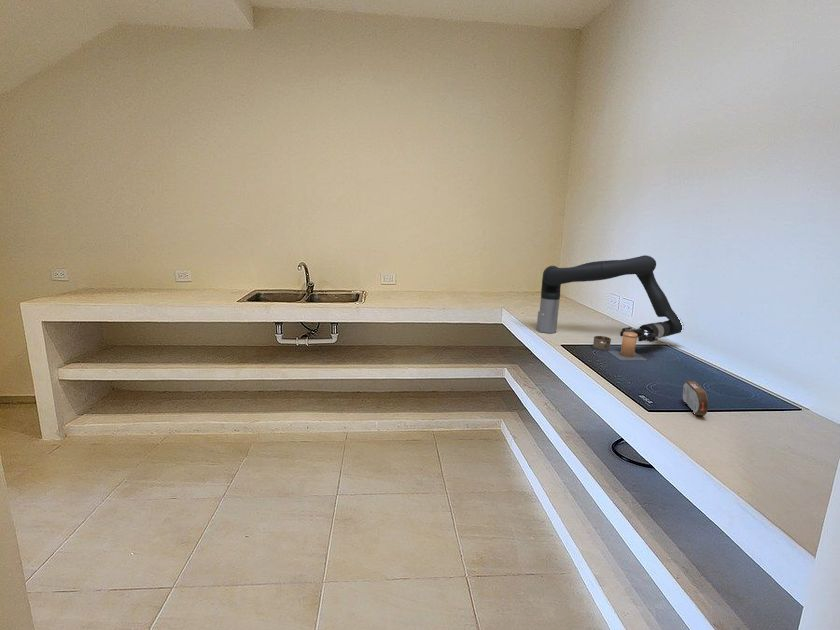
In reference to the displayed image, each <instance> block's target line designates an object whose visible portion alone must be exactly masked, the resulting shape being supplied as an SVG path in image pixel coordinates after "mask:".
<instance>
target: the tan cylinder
mask: <svg viewBox="0 0 840 630" xmlns="http://www.w3.org/2000/svg"><path fill="white" fill-rule="evenodd" d="M637 336H638V335H637V333H634V332H623V336H622V338H621V339H622V341H621V345H620V346H621V347H620V351H621V353H620V355H621V356H624V357H634V354H635V353H636V348H637V341H638V339H637Z"/></svg>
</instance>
